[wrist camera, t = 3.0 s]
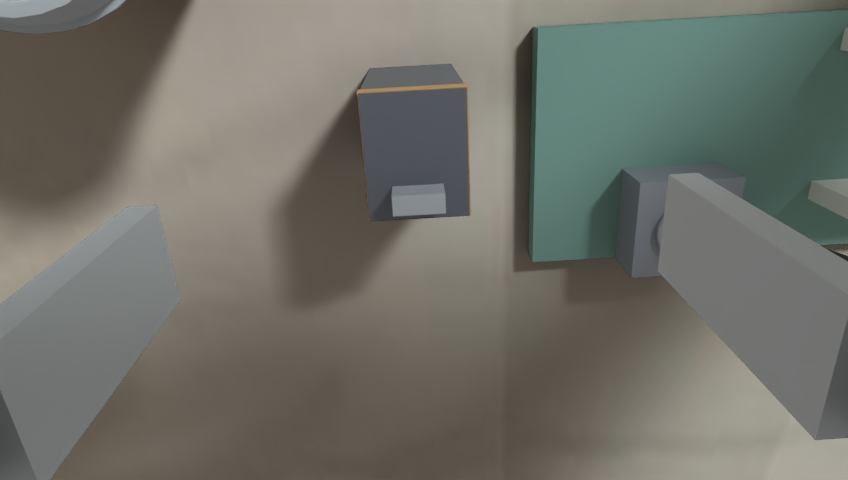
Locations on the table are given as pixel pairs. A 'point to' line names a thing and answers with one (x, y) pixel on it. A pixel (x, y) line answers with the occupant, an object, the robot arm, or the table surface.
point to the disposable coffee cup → (52, 14)
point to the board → (685, 127)
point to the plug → (415, 142)
